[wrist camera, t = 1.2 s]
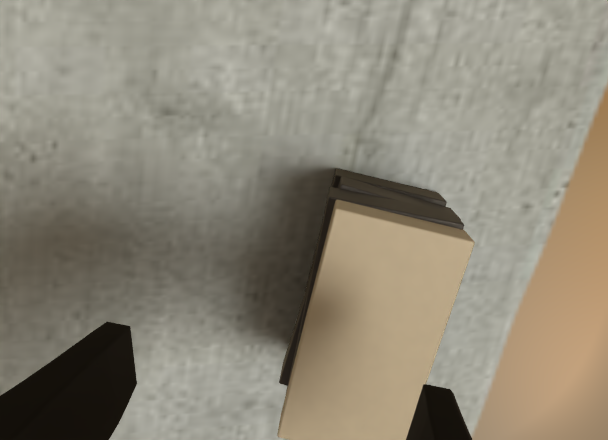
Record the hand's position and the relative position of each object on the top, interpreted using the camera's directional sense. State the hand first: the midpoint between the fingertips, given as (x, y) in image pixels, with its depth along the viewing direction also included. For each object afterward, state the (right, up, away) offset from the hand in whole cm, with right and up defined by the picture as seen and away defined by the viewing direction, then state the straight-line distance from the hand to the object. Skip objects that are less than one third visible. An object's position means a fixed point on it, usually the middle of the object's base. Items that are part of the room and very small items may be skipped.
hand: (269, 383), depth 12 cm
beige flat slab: (+3, 0, +6) cm, 7 cm away
